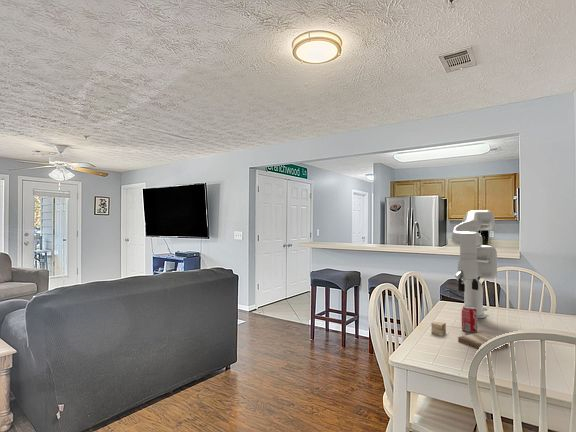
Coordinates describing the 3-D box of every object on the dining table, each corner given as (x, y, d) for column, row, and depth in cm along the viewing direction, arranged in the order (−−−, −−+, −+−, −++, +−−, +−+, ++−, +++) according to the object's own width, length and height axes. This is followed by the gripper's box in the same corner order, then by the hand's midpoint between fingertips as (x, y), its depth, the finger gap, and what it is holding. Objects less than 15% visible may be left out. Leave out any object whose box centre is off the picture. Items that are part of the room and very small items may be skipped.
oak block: (435, 330, 171) (435, 320, 171) (445, 333, 168) (445, 323, 168) (431, 333, 168) (431, 322, 168) (441, 335, 164) (441, 325, 164)
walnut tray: (478, 336, 162) (478, 332, 162) (508, 346, 149) (507, 341, 149) (458, 341, 156) (458, 336, 156) (486, 351, 143) (486, 346, 143)
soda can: (475, 329, 173) (475, 305, 173) (478, 333, 166) (478, 309, 167) (460, 327, 175) (460, 304, 176) (462, 332, 169) (462, 308, 169)
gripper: (473, 255, 178) (473, 287, 178) (449, 256, 171) (449, 290, 171) (486, 256, 171) (486, 290, 171) (462, 258, 165) (462, 293, 164)
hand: (468, 290), depth 171 cm, fingers open, 9 cm apart
